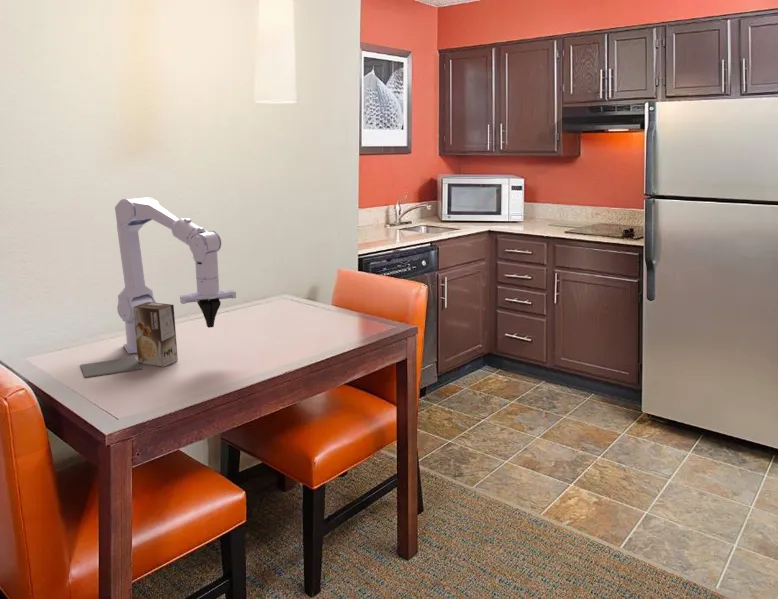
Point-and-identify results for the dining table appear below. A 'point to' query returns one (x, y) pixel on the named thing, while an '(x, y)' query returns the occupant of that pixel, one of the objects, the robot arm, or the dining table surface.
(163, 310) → the coffee box
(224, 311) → the dining table surface
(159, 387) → the dining table surface
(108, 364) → the grey flat slab
